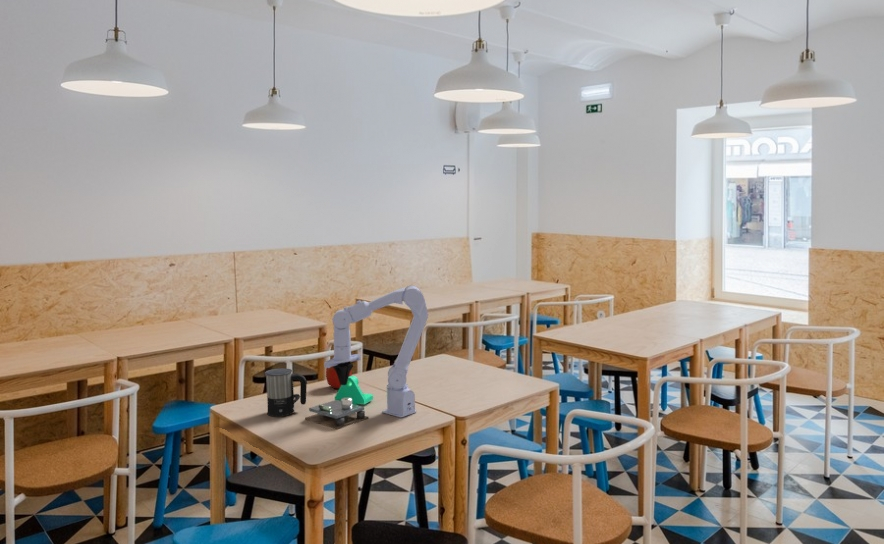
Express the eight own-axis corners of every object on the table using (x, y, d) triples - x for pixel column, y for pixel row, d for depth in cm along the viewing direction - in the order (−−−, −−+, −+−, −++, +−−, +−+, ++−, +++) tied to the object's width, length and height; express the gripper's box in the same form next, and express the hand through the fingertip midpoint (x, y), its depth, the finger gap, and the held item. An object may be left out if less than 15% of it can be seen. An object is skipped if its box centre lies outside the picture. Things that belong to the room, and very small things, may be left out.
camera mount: (374, 401, 243) (373, 374, 242) (364, 407, 236) (363, 379, 235) (345, 398, 248) (344, 371, 247) (334, 404, 241) (334, 376, 240)
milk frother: (271, 419, 224) (269, 376, 223) (257, 407, 237) (255, 366, 236) (311, 411, 232) (310, 370, 230) (295, 400, 245) (294, 361, 243)
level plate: (364, 409, 223) (363, 398, 223) (336, 418, 214) (336, 406, 214) (336, 402, 232) (336, 391, 232) (309, 411, 223) (308, 399, 223)
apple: (325, 385, 266) (324, 356, 264) (350, 383, 268) (350, 355, 267) (326, 392, 256) (326, 362, 255) (353, 390, 258) (352, 360, 257)
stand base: (369, 418, 223) (368, 410, 223) (337, 429, 213) (336, 421, 212) (337, 409, 234) (336, 401, 234) (305, 419, 223) (304, 411, 223)
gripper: (350, 340, 234) (351, 378, 235) (317, 347, 223) (319, 387, 224) (364, 343, 230) (365, 381, 231) (331, 350, 219) (332, 390, 220)
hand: (343, 384), depth 227 cm, fingers closed
